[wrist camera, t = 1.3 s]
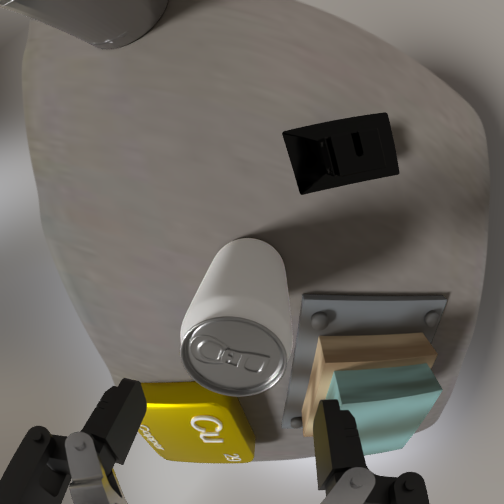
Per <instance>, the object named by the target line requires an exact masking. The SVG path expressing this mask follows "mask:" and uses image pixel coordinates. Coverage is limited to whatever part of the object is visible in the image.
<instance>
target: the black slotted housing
mask: <svg viewBox="0 0 504 504" xmlns="http://www.w3.org/2000/svg"><path fill="white" fill-rule="evenodd" d="M282 135H283V138H284V141H285V144H286V148H287V151H288V154H289V157H290V161H291V164H292V168H293V171H294V174H295V178H296V181H297V185H298V188H299V192H300V194H301V195H303V194H308V193H312V192H316V191H321V190H325V189H330V188H334V187H339V186H343V185H348V184H353V183H358V182H362V181H367V180H372V179H377V178H382V177H387V176H393V175H398V174H399V167H398V161H397V156H396V150H395V145H394V140H393V136H392V131H391V127H390V122H389V118H388V114H387V113H377V114H370V115H364V116H357V117H351V118H345V119H340V120H334V121H329V122H324V123H319V124H314V125H310V126H305V127H301V128H296V129H292V130H288V131H284V132H283V133H282Z"/></svg>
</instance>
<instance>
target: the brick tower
mask: <svg viewBox="0 0 504 504" xmlns="http://www.w3.org/2000/svg"><path fill="white" fill-rule="evenodd" d="M446 302H447V299H446V298H445V297H444V296H443V295H442V296H348V295H311V294H303V295H302V302H301V310H300V317H299V325H298V331H297V338H296V345H295V351H294V358H293V364H292V370H291V376H290V381H289V387H288V393H287V398H286V403H285V409H284V414H283V419H282V428H303V435H304V437H308V436H313V421H314V417H315V414H316V411H317V408H318V405H319V401H320V400H325V399H337V400H338V402H339V406H340V410H349V411H350V412H351V414H352V415H353V416H354V417H355V420H356V424H357V429H358V432H359V437H360V441H361V445H362V450H363V454H364V456H365V455H371V454H376V453H382V452H387V451H392V450H397V449H402V448H403V447H404V445H405V444H406V443H407V442H408V440H409V439H410V438H411V436H412V435H413V434H414V432H415V431H416V430H417V428H418V427H419V426H420V424H421V423H422V421H423V420H424V418H425V417H426V415H427V414H428V412H429V411H430V409H431V408H432V406H433V405H434V403H435V402H436V400H437V398H438V397H439V395H440V393H441V392H442V390H443V389H442V388H441V386H440V384H439V383H438V381H437V379H436V378H435V376H434V374H433V373H432V371H431V368H432V366H433V364H434V361H435V359H436V357H437V355H438V354H437V352H436V351H435V350H434V348H433V347H432V345H431V342H432V340H433V337H434V335H435V332H436V330H437V327H438V324H439V322H440V319H441V316H442V313H443V311H444V308H445V305H446Z"/></svg>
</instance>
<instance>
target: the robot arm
mask: <svg viewBox="0 0 504 504" xmlns="http://www.w3.org/2000/svg"><path fill="white" fill-rule="evenodd" d="M167 1H168V0H0V7H1V8H4V9H7V10H10V11H13V12H16V13H19V14H22V15H24V16H27V17H30V18H32V19H35V20H38V21H40V22H43V23H45V24H47V25H50V26H52V27H55V28H57V29H59V30H61V31H64V32H66V33H68V34H70V35H72V36H75V37H77V38H79V39H81V40H83V41H85V42H87V43H89V44H91V45H93V46H95V47H98V48H101V49H114V48H119V47H122V46H125V45H127V44H129V43H131V42H133V41H135V40H136V39H138V38H139V37H141V36H142V35H144V34H145V33H146V32H147V31H148V30H150V29H151V28H152V27H153V26H154V24H155V23H156V22H157V21H158V20H159V19H160V17H161V15H162V14H163V12H164V10H165V8H166V6H167ZM146 410H147V401H146V398H145V395H144V392H143V389H142V386H141V383H140V382H139V381H136V380H131V379H127V378H124V379H122V381H121V382H120V384H119V386H118V387H116V386H113V387H111V388H110V389H108V390H107V391H106V392H105V393H104V395H103V396H102V398H101V399H100V401H99V403H98V404H97V407H96V408H95V409H94V411H93V413H92V414H91V416H90V418H89V419H88V421H87V422H86V424H85V426H84V428H83V429H82V430H81V431H80V432H74V433H72V434H70V435H69V436H68V437H67V436H58V435H52V434H50V432H49V431H48V430H47V429H46V428H45V427H42V426H35V427H32V428H31V429H30V430H29V431H28V432H27V434H26V435H25V437H24V439H23V440H22V442H21V444H20V446H19V448H18V449H17V451H16V453H15V454H14V456H13V458H12V460H11V461H10V463H9V465H8V467H7V469H6V471H5V472H4V474H3V477H2V478H1V480H0V504H61V503H62V500H63V498H64V495H65V493H66V490H67V488H68V485H69V489H70V493H71V496H72V500H73V503H74V504H128V503H127V501H126V499H125V497H124V495H123V492H122V490H121V487H120V485H119V482H118V480H117V477H116V474H115V472H114V469H113V466H114V464H115V462H116V463H119V464H121V465H123V464H124V462H125V459H126V457H127V455H128V452H129V450H130V448H131V445H132V443H133V441H134V439H135V436H136V434H137V432H138V430H139V427H140V425H141V423H142V421H143V418H144V416H145V414H146ZM313 437H314V447H315V457H316V468H317V480H318V490H326V498H325V499H324V500H323V501H322V502H321V504H429V499H428V495H427V490H426V486H425V482H424V479H423V478H422V476H421V475H419V474H417V473H415V472H406V473H403V474H402V475H400V476H399V477H398V478H397V477H384V476H378V475H375V474H374V473H372V472H371V471H370V470H369V469H368V468H367V466H366V463H365V458H364V454H363V450H362V445H361V441H360V437H359V432H358V429H357V424H356V420H355V417H354V416H353V415H352V414H351V412H350V411H349V410H340V406H339V402H338V400H337V399H325V400H320V401H319V405H318V408H317V411H316V414H315V417H314V421H313ZM71 478H72V483H70V481H71ZM69 483H70V484H69Z"/></svg>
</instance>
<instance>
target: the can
mask: <svg viewBox="0 0 504 504" xmlns="http://www.w3.org/2000/svg"><path fill="white" fill-rule="evenodd" d="M180 336H181V345H180V358H181V362H182V364H183V367H184V368H185V370H186V372H187V373H188V374H189V375H190V377H191V378H192V379H193V380H195V381H196V382H197V383H198V384H200V385H201V386H203V387H204V388H206V389H208V390H210V391H213V392H215V393H218V394H222V395H227V396H236V397H242V396H251V395H256V394H259V393H262V392H264V391H266V390H268V389H270V388H272V387H273V386H274V385H276V384H277V383H278V382H279V381H280V379H281V378H282V377H283V375H284V373H285V371H286V367H287V361H288V360H289V358H290V355H291V352H292V348H293V329H292V319H291V310H290V301H289V293H288V285H287V278H286V271H285V266H284V262H283V260H282V258H281V256H280V254H279V253H278V252H277V251H276V250H275V249H274V248H273V247H272V246H271V245H269V244H268V243H266V242H264V241H261V240H258V239H254V238H242V239H237V240H234V241H232V242H230V243H228V244H226V245H225V246H224V247H223V248H222V249H221V250H220V251H219V252H218V253H217V254H216V256H215V258H214V260H213V261H212V263H211V265H210V267H209V269H208V271H207V273H206V275H205V277H204V279H203V280H202V282H201V284H200V286H199V288H198V290H197V292H196V294H195V296H194V298H193V300H192V302H191V304H190V306H189V308H188V311H187V313H186V315H185V317H184V320H183V323H182V326H181V333H180Z"/></svg>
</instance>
